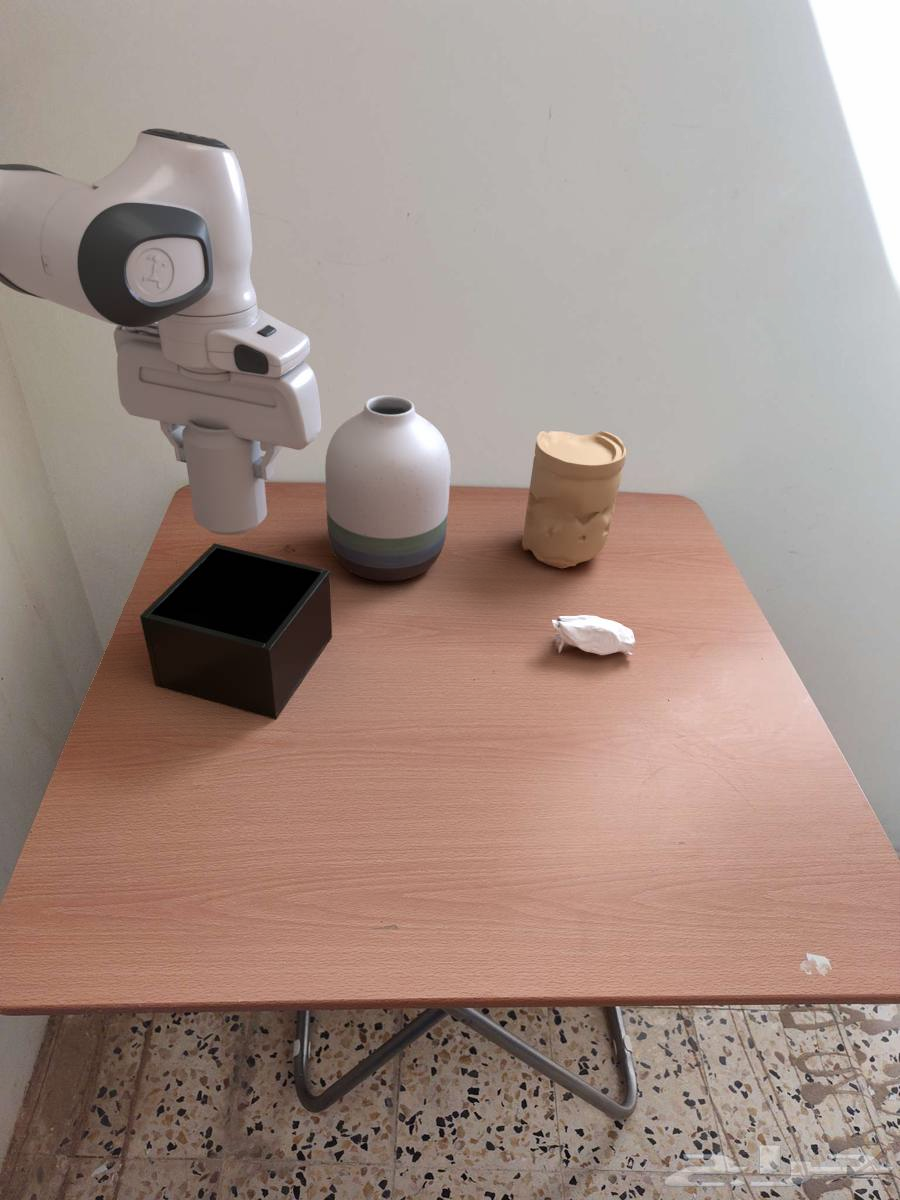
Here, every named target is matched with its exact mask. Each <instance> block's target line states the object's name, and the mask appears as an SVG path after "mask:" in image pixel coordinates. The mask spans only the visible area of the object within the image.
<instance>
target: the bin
mask: <svg viewBox="0 0 900 1200" xmlns="http://www.w3.org/2000/svg"><path fill="white" fill-rule="evenodd" d="M331 594H332V593H331V570H328V569H324V568H322V567H321V568H320V567H317V566H312V565H308V564H304V563H299V562H294V561H291V560H287V559H282V558H278V557H274V556H270V555H266V554H261V553H257V552H254V551H249V550H245V549H240V548H235V547H232V546H227V545H223V544H220V543H213V544H211V546H210V547H209V548H208V549H206V550H205V551H204V552H203V553H202V554H201V555H200V556H199V557H198V558H197V559H196V560H195V561H194V562H193V563H192V564H191V565H190V566H189V567H188V568H187V569H186V570H185V571H184V572H183V573H182V574H180V576H179V577H178V578H177V579H176V580H175V581H174V582H173V583H172V584H171V585H169V587H168V588H166V589H165V591H164V592H163V593H162V594H160V596H158V597H157V598H156V599H155V600H154V601H153V602H152V603H151V604H150V605H149V606H148V607H147V608H146V609H145V610H144V611H143V612H142V613H141V614H140V615H139V619H140V622H141V627H142V632H143V636H144V641H145V645H146V650H147V655H148V659H149V663H150V668H151V674H152V677H153V682H154V686H156V687H157V688H158V687H159V688H162V689H166V690H169V691H174V692H176V693H180V694H183V695H186V696H191V697H194V698H198V699H202V700H205V701H208V702H212V703H216V704H220V705H223V706H226V707H229V708H233V709H237V710H241V711H244V712H248V713H251V714H255V715H259V716H262V717H265V718H269V719H273V720H278V717H279V716H280V715H281V713H282V712H283V710H284V709H285V708H286V706H287V705H288V703H289V702H290V700H291V699H292V697H293V696H294V694H295V693H296V691H297V690H298V688H299V687H300V685H301V684H302V682H303V681H304V679H305V678H306V676H307V675H308V673H309V672H310V671H311V669H312V668H313V666H314V664H316V662H317V660H318V659H319V657H320V656H321V654H322V653H323V651H324V650H325V648H326V647H327V645H328V644H329V643H330V641H331V639H332V638H333V626H332V625H333V624H332V623H333V622H332V598H331V597H332V595H331Z"/></svg>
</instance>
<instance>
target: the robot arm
mask: <svg viewBox="0 0 900 1200" xmlns="http://www.w3.org/2000/svg"><path fill="white" fill-rule="evenodd" d="M249 207H250V206H249V201H248V195H247V190H246V183H245V180H244V176H243V173H242V169H241V166H240V162H239V160H238V157H237V156H236V154H235V152H234V151H233V150H232V148H231V147H229V146H228V145H227V144H226V143H224V142H222V141H220V140H218V139H216V138H210V137H206V136H202V135H198V134H192V133H187V132H183V131H177V130H171V129H167V128H148V129H145V130H141V131H140V132H139V133H138V135H137V138H136V143H135V146H134V147H133V149H132V150H131V151H130V153H129V154H128V155H127V156H126V157H125V159H124V160H123V161H122V162H121V163H120V164H119V165H118V166H117V167H116V168H114V169H113V170H112V171H111V172H109V173H108V174H106V175H105V176H104V177H102V178H100V179H98V180H96V181H94V182H92V183H90V182H85V181H82V180H79V179H78V180H77V179H74V178H70V177H67V176H63V175H61V174H58V173H56V172H53V171H51V170H48V169H45V168H43V167H41V166H37V165H31V164H23V163H3V164H2V163H1V164H0V283H1V284H3V285H5V286H6V287H8V288H10V289H11V290H13V291H16V292H18V293H21V294H24V295H28V296H31V297H35V298H38V299H42V300H47V301H50V302H52V303H55V304H58V305H60V306H63V307H65V308H67V309H70V310H73V311H75V312H78V313H80V314H84V315H85V316H89V317H91V318H94V319H97V320H100V321H103V322H104V323H107V324H108V323H109V324H111V325H115V326H116V327H115V329H114V331H113V340H114V345H115V350H116V353H117V358H116V374H117V375H116V376H117V386H118V395H119V401H120V404H121V406H122V407H123V409H124V410H125V411H126V412H127V414H129V415H130V416H132V417H133V416H134V417H139V418H143V419H147V420H148V419H149V420H154V421H158V422H159V424H160V430H161V432H162V433H163V435H164V436H165V437H166V439H167V440H168V442H169V443H170V444H171V446H172V447H174V455H175V460H176V461H177V462H181V463H185V464H186V458H185V451H184V444H183V438H182V431H183V429H184V427H188V426H189V424H188V423H187V420H190V421H191V422H192V423H193V424H194V425H196V426H199V427H204V428H209V429H214V430H221V429H232V430H233V432H232V434H233V435H234V436H236V437H239V438H244V439H249V440H253V441H258V442H260V448H261V450H262V452H265V453H264V455H262V456H260V458H259V459H258V460H256V461H255V462H254V463H252V465H253V470H254V473H253V476H254V477H255V478H259V479H263V480H264V481H268V482H269V481H270V480H271V479H272V478H273V477H274V475H275V473H276V470H275V459H276V458H277V456H278V454H279V453H280V451H281V449H282V448H286V449H287V448H288V449H292V450H297V451H301V450H303V449H305V448H306V447H307V446H309V445H310V444H311V443H312V442H313V441H314V440H315V439H316V438H317V437H318V435H319V434H320V432H321V431H322V411H321V400H320V393H319V392H320V391H319V387H318V382H317V378H316V374H315V372H314V371H313V369H312V367H311V366H310V365H309V364H308V363H307V362H306V361H304V360H305V359H306V358H307V357H308V356H309V355H310V352H311V342H310V338H309V337H308V335H307V334H305V332H302V331H301V330H298V329H297V328H294V327H293V326H291V325H289V324H287V323H285V322H283V321H281V320H280V319H278V318H276V317H274V316H272V315H271V314H269V313H267V312H266V311H264V310H263V309H261V308H259V307H258V300H257V299H258V298H257V294H256V290H255V287H254V285H253V282H252V278H251V262H252V256H253V236H252V226H251V225H252V224H251V217H250V208H249Z"/></svg>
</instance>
